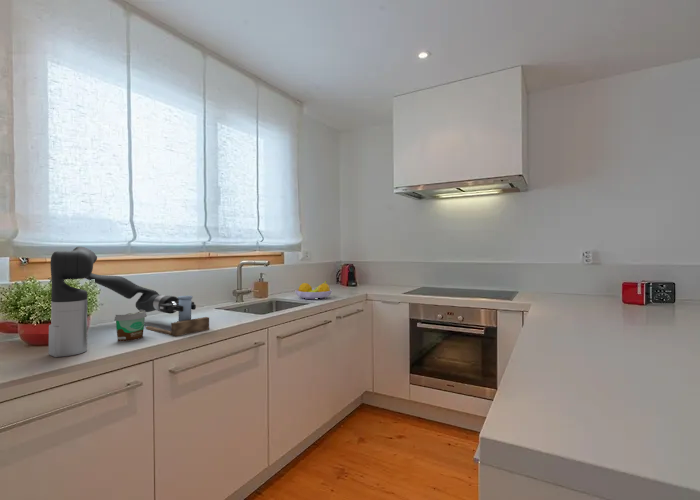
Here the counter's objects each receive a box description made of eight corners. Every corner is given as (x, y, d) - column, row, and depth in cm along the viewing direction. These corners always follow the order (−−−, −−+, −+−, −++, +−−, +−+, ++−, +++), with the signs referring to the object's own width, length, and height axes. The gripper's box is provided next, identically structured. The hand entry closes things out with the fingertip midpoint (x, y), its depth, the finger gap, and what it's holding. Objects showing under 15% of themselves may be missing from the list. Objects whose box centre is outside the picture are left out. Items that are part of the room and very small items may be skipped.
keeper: (182, 324, 142) (182, 297, 142) (174, 323, 145) (174, 296, 145) (194, 322, 146) (195, 296, 146) (187, 320, 150) (187, 295, 150)
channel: (174, 336, 136) (174, 323, 136) (146, 329, 148) (146, 317, 148) (209, 329, 149) (209, 317, 149) (180, 322, 161) (180, 312, 161)
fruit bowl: (309, 302, 228) (310, 284, 228) (287, 297, 248) (287, 281, 248) (342, 298, 247) (342, 282, 247) (319, 294, 267) (319, 279, 267)
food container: (128, 343, 126) (128, 315, 126) (114, 342, 127) (114, 315, 127) (154, 335, 138) (154, 310, 138) (140, 334, 139) (140, 309, 139)
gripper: (149, 297, 148) (172, 300, 138) (182, 293, 160) (204, 297, 150) (149, 314, 148) (171, 319, 138) (181, 310, 160) (204, 314, 150)
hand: (188, 307), depth 144 cm, fingers closed on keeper, 4 cm apart
